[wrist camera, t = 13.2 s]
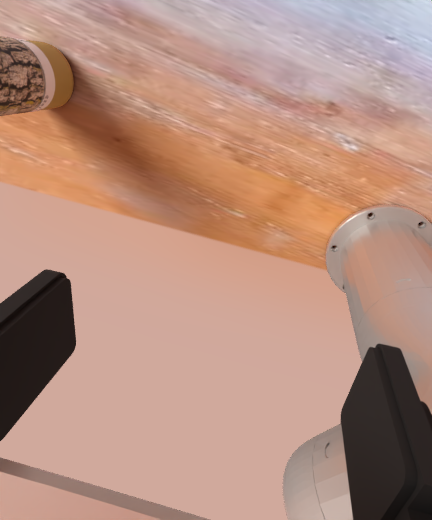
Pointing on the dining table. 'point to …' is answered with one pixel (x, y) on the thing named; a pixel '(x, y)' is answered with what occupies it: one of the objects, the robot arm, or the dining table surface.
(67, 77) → the paper tube
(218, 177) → the dining table surface
